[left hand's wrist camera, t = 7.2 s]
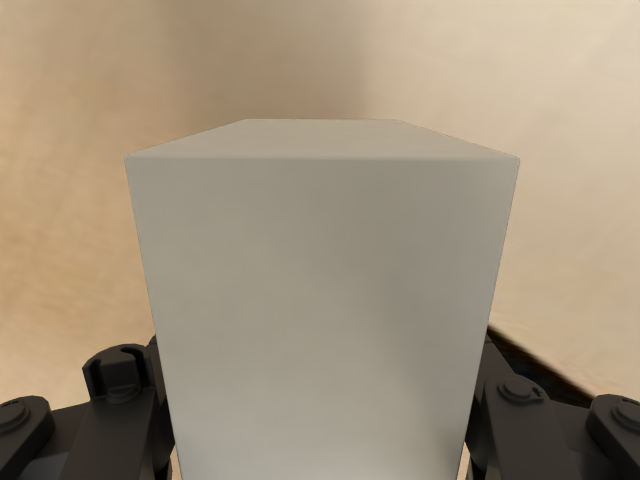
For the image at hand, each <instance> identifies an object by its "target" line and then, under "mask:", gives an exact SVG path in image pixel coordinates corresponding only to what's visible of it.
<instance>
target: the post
mask: <svg viewBox="0 0 640 480" xmlns="http://www.w3.org/2000/svg"><path fill="white" fill-rule="evenodd" d="M124 161H125V167H126V172H127V178H128V183H129V189H130V194H131V200H132V205H133V211H134V216H135V222H136V228H137V233H138V239H139V244H140V250H141V255H142V261H143V266H144V272H145V278H146V283H147V289H148V294H149V300H150V305H151V311H152V316H153V322H154V327H155V333H156V339H157V344H158V350H159V355H160V361H161V366H162V372H163V377H164V383H165V389H166V394H167V400H168V405H169V411H170V416H171V422H172V427H173V433H174V438H175V444H176V450H177V455H178V461H179V466H180V472H181V477H182V480H457V475H458V470H459V465H460V460H461V455H462V450H463V445H464V440H465V435H466V430H467V425H468V420H469V415H470V410H471V405H472V400H473V395H474V390H475V385H476V380H477V375H478V370H479V365H480V360H481V355H482V350H483V345H484V340H485V335H486V330H487V325H488V320H489V315H490V310H491V305H492V300H493V295H494V290H495V285H496V280H497V275H498V270H499V265H500V260H501V255H502V250H503V245H504V240H505V235H506V230H507V225H508V220H509V215H510V210H511V205H512V200H513V195H514V190H515V185H516V180H517V175H518V170H519V165H520V159H519V158H518V157H515V156H512V155H509V154H505V153H502V152H499V151H496V150H492V149H489V148H486V147H483V146H479V145H476V144H473V143H470V142H466V141H463V140H460V139H457V138H453V137H450V136H447V135H444V134H440V133H437V132H434V131H431V130H428V129H424V128H421V127H418V126H415V125H411V124H408V123H405V122H402V121H398V120H358V119H244V120H240V121H237V122H234V123H230V124H227V125H224V126H220V127H217V128H213V129H210V130H207V131H203V132H200V133H196V134H193V135H190V136H186V137H183V138H180V139H176V140H173V141H169V142H166V143H163V144H159V145H156V146H152V147H149V148H146V149H142V150H139V151H135V152H132V153H129V154H126V155H125V156H124Z"/></svg>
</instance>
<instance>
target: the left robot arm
mask: <svg viewBox="0 0 640 480" xmlns="http://www.w3.org/2000/svg"><path fill="white" fill-rule="evenodd" d="M82 370H83V374H84V377H85V381H86V385H87V388H88V392H89V395H90V402H86V403H83V404H79V405H75V406H71V407H66V408H62V409H58V410H53V411H51V409H50V406H49V403H48V401H47V400H46V399H44V398H43V397H39V396H26V397H19V398H16V399H13V400H10V401H7V402H5V403H2V404H1V405H0V480H172V465H171V459H170V455H171V453H172V450H173V448H174V445H175V438H174V433H173V427H172V422H171V416H170V411H169V405H168V400H167V394H166V389H165V383H164V377H163V372H162V366H161V361H160V355H159V350H158V344H157V339H156V333H155V336H153V337H152V339H151V340H150V342H149V345H147V346H146V347H145V346H143V345H138V344H122V345H118V346H114V347H110V348H108V349H106V350H103V351H101V352H99V353H97V354H96V355H94V356H93V357H92V358H90V359H89V360H88V361H87V362H86V363H85V365H84V366H83V367H82ZM465 443H466V445H467V448H468V450H469V452H470V459H469V464H468V469H467V474H466V479H465V480H640V402H638V401H635V400H633V399H629V398H626V397H624V396H619V395H612V394H605V395H598V396H597V397H596V398H595V399H593V401H592V404H591V407H590V409H585V408H581V407H576V406H572V405H568V404H563V403H559V402H556V401H553V400H550V399H549V397H548V396H547V394H546V393H545V391H544V390H543V389H542V388H541V387H540V386H538V385H537V384H536V383H535V382H533V381H531V380H529V379H527V378H525V377H523V376H520V375H516V374H515V373H514V372H513V371H512V369H511V368H510V366H509V365H508V364H507V362H506V361H505V359H504V358H503V356H502V355H501V354H500V352H499V351H498V349H497V348H496V347H495V345H494V344H492V341H491V340H490V338H489V337H488V335H487V334H486V335H485V340H484V345H483V350H482V355H481V360H480V365H479V370H478V375H477V380H476V385H475V390H474V395H473V400H472V405H471V410H470V415H469V420H468V425H467V430H466V435H465Z"/></svg>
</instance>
